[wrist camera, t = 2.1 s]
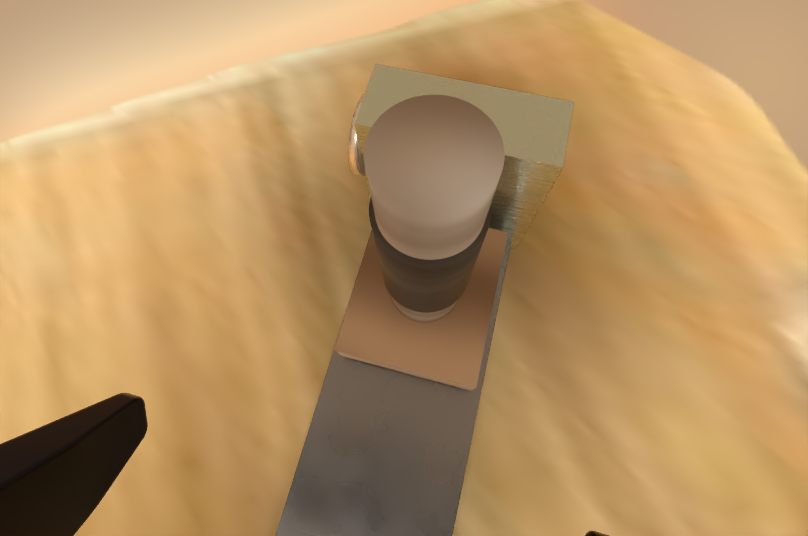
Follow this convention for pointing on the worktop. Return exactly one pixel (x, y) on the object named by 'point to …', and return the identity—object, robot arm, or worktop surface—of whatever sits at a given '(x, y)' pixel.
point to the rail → (403, 393)
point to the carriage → (428, 242)
